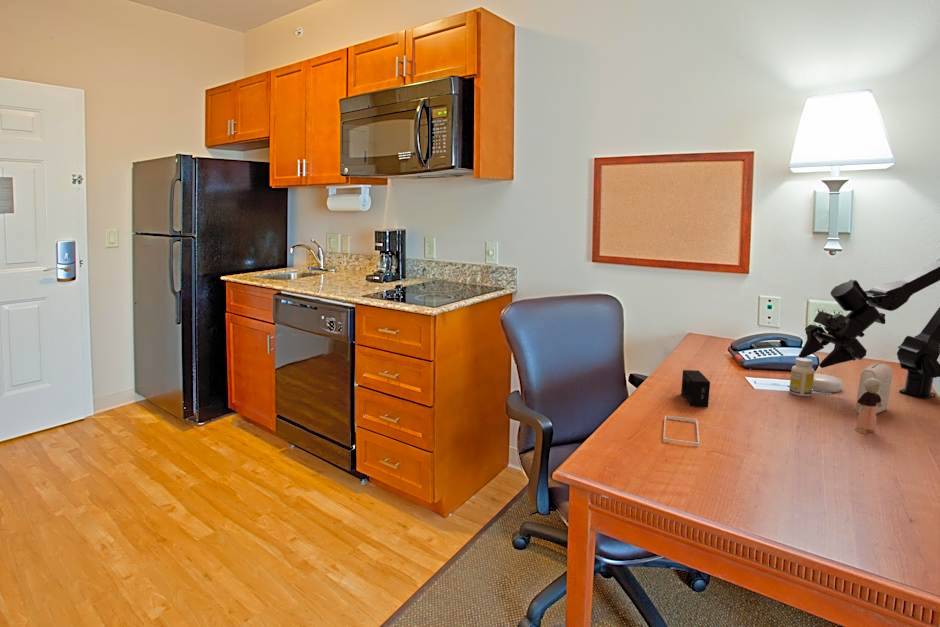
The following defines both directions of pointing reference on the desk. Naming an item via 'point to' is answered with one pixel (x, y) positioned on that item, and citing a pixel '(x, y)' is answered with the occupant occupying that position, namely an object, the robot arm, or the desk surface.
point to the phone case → (681, 420)
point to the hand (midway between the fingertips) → (809, 361)
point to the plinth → (826, 383)
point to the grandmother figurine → (868, 406)
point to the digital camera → (695, 388)
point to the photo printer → (883, 375)
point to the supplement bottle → (802, 377)
